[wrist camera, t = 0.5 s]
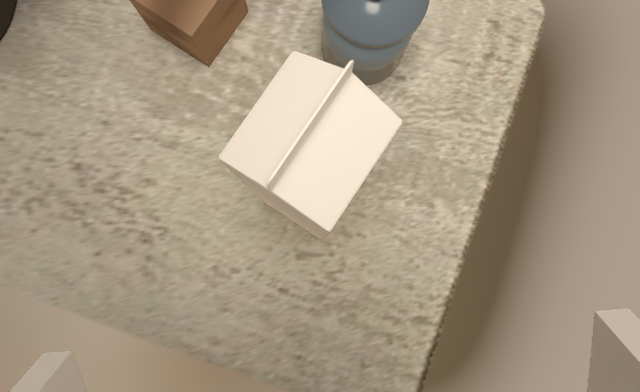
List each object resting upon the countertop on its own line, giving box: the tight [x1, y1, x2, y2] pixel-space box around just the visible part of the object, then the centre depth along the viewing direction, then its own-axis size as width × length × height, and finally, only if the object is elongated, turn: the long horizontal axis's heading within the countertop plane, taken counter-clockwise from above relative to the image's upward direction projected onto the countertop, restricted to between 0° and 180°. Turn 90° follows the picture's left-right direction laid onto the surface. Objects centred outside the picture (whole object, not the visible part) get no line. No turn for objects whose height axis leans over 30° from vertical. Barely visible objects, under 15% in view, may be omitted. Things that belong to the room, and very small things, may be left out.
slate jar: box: [322, 0, 429, 85], centre depth 36 cm, size 7×7×10 cm
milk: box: [218, 51, 402, 240], centre depth 29 cm, size 6×6×22 cm
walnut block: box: [130, 0, 248, 67], centre depth 38 cm, size 6×6×6 cm
